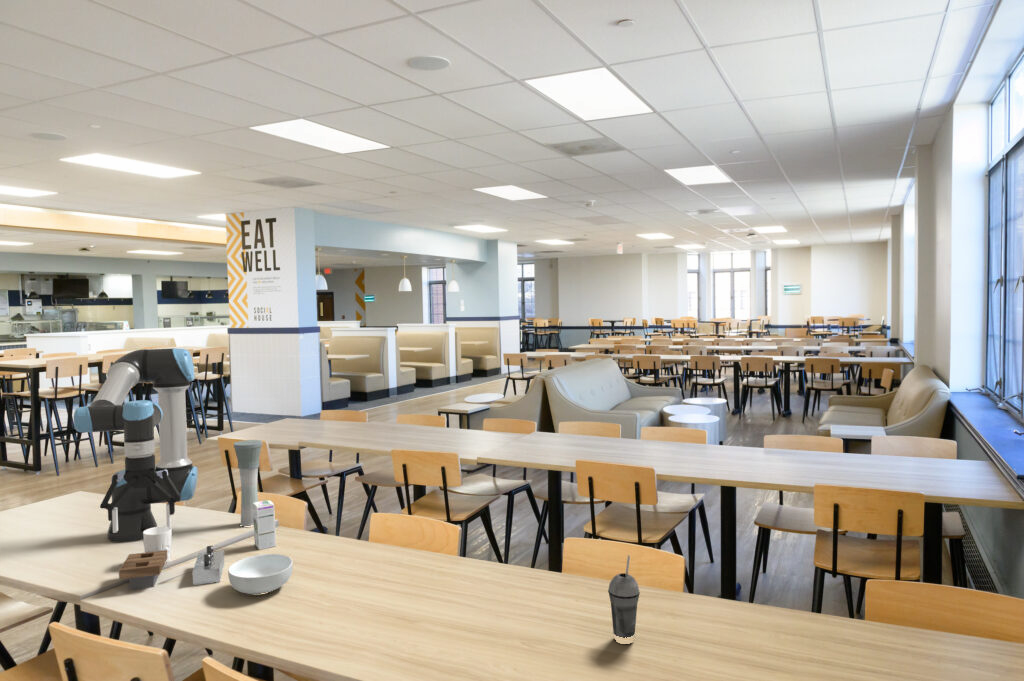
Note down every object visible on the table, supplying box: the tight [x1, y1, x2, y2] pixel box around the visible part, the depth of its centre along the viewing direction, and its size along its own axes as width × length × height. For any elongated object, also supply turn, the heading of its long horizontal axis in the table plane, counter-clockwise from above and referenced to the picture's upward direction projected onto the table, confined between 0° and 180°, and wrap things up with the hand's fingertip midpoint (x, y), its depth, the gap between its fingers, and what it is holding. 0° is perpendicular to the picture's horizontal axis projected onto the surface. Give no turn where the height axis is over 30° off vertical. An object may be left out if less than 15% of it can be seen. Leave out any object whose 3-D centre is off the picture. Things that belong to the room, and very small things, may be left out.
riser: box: [128, 575, 160, 591], centre depth 191 cm, size 9×6×4 cm, turn 19°
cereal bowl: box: [227, 553, 294, 595], centre depth 185 cm, size 17×17×7 cm
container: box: [233, 439, 263, 526], centre depth 241 cm, size 10×10×30 cm
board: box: [118, 550, 167, 580], centre depth 190 cm, size 13×10×2 cm
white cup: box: [143, 525, 173, 563], centre depth 206 cm, size 8×8×10 cm
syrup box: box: [253, 499, 277, 551], centre depth 219 cm, size 6×6×14 cm
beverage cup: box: [607, 554, 641, 638], centre depth 154 cm, size 7×7×20 cm
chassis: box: [192, 545, 225, 586], centre depth 196 cm, size 15×7×7 cm, turn 19°
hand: (142, 528), depth 190 cm, fingers open, 13 cm apart
